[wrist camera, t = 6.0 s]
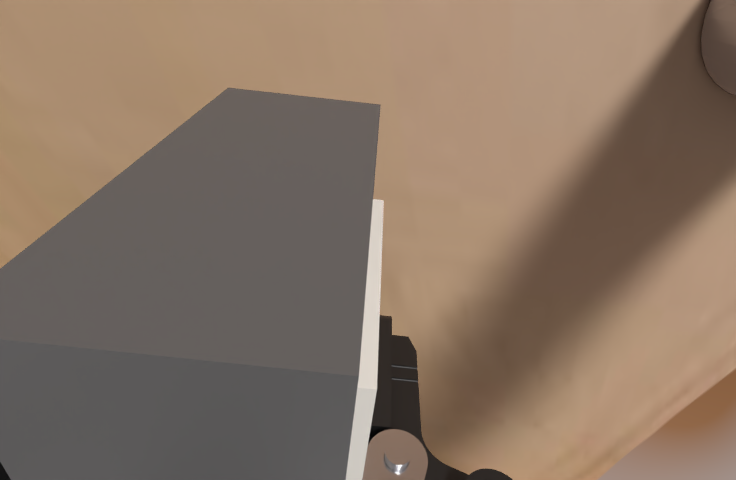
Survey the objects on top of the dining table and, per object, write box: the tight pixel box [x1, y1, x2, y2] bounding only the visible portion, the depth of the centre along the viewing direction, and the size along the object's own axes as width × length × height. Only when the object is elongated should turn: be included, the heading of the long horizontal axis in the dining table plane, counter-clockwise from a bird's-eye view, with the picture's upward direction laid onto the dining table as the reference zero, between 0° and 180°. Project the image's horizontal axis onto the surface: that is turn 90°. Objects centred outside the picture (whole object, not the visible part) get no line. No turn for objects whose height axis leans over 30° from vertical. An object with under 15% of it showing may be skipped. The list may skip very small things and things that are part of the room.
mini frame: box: [0, 88, 384, 480], centre depth 11 cm, size 4×12×9 cm, turn 174°
